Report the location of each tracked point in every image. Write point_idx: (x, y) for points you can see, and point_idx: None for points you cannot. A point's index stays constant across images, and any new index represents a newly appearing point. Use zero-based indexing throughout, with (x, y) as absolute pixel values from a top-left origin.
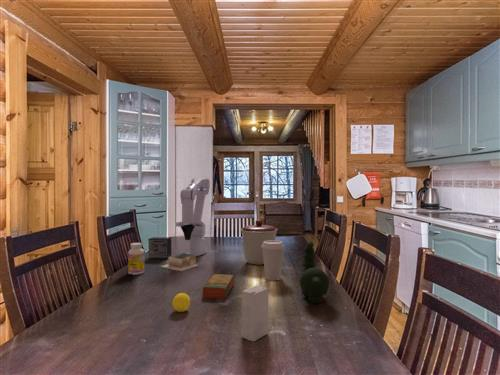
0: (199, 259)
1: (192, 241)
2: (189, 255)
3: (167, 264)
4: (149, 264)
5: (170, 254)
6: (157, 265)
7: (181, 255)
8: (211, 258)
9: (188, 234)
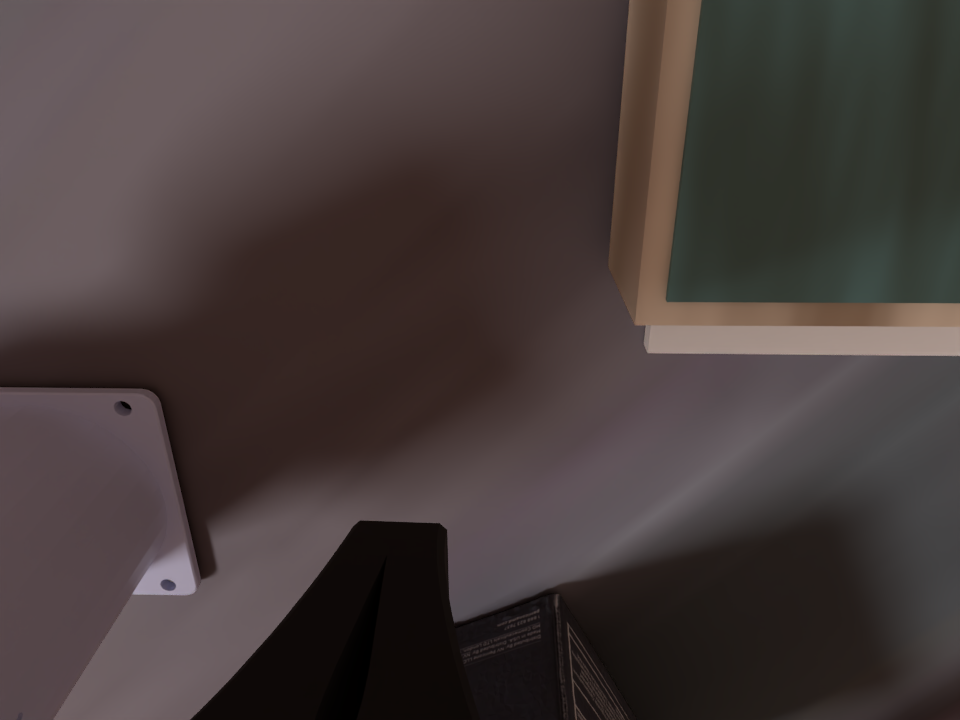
0: (259, 190)
1: (16, 661)
2: (819, 2)
3: (912, 342)
4: (913, 579)
5: None
6: (929, 464)
7: (887, 188)
8: (33, 37)
9: (448, 662)
